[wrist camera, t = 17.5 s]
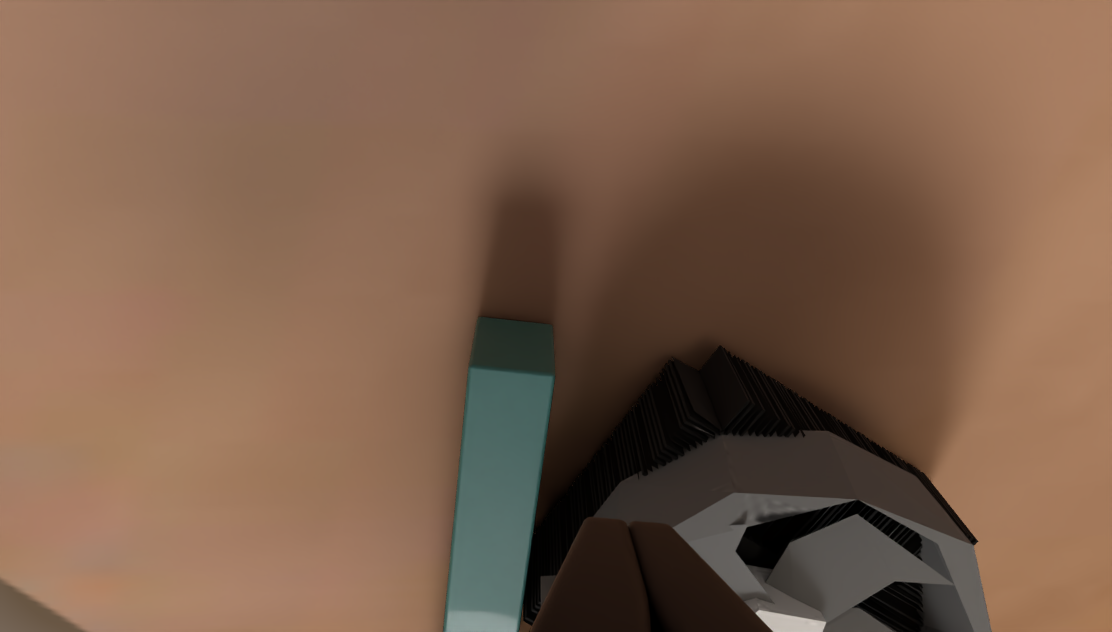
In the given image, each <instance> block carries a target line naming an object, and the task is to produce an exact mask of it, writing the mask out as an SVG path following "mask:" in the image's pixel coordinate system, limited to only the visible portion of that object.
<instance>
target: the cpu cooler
mask: <svg viewBox="0 0 1112 632" xmlns="http://www.w3.org/2000/svg"><path fill="white" fill-rule="evenodd" d="M672 359H673V361H672V360H670V359H669V360H668V363H669V365H668V364H667V363H666V364H665V368H666V371H665V370H664V369H662V370H663V373H664V375H663V374H661V373H660V372H659V373H660V376H661V380H662V381H661V380H659V379H658V378H656V377H655V378H656V381H657V384H658V386H657V385H655V384H653V383H652V386H653V387H652V386H651V385H649V386H648V389H649V390H648V389H646V390H645V394H646V395H645V394H644V393H643V394H642V395H641V396H642V398H639V399H638V401H639V404H638V403H636V405H637V407H635V406H634V405H633V407H632V410H633V411H631V410H629V415H628V414H626V416H625V417H626V419H624V418H623V419H622V423H621V422H620V423H619V427H616V428H615V429H616V431H613V432H612V433H613V436H612V435H611V440H612V441H611V440H610V439H608V444H609V445H608V444H606V443H604V444H603V447H602V446H601V447H602V452H600V451H598V452H597V455H596V454H595V455H594V461H595V462H593V461H591V463H590V462H589V463H588V468H586V467H585V470H586V471H584V470H583V475H584V476H583V475H581V474H580V475H579V478H576V482H573V486H570V487H569V489H570V491H569V490H568V495H567V494H565V499H564V498H562V502H561V501H559V502H558V505H555V509H554V508H553V509H552V513H551V512H550V513H549V516H547V517H546V521H545V520H544V525H542V524H541V528H540V527H538V528H537V531H536V534H535V535H534V534H533V538H532V545H531V552H530V559H529V566H528V573H527V580H526V587H525V594H524V601H523V621H525V622H526V623H528V624H530V625H531V626H532V625H533V623H534V621H535V619H536V617H537V615H538V613H539V611H540V609H541V607H542V605H543V603H544V601H545V599H546V597H547V595H548V593H549V591H550V588H551V586H552V584H553V582H554V580H555V578H556V576H557V574H558V572H559V570H560V568H561V566H562V564H563V562H564V560H565V558H566V556H567V554H568V552H569V550H570V548H571V546H572V544H573V542H574V540H575V538H576V536H577V534H578V532H579V530H580V527H581V525H582V523H583V522H584V520H585V519H586V518H588V517H600V518H610V519H620V520H623V521H624V522H626V524H627V525H628V524H629V523H630V522H632V521H642V522H653V523H664V524H668V525H670V526H671V527H672V528H673V529H674V530H675V531H676V532H677V533H678V534H679V535H680V536H681V537H682V538H683V539H684V540H685V541H686V542H687V543H688V544H689V545H690V546H691V547H692V548H693V549H694V550H695V551H696V552H697V553H698V554H699V555H700V556H701V558H702V559H703V560H704V561H705V562H706V563H707V564H708V565H709V566H710V567H711V568H712V569H713V570H714V571H715V572H716V573H717V574H718V575H719V576H720V577H721V578H722V579H723V580H724V581H725V582H726V583H727V584H728V585H729V586H730V588H731V589H732V590H733V591H734V592H735V593H736V594H737V595H738V596H739V597H740V598H741V599H742V600H743V601H744V602H745V603H746V604H747V605H748V606H749V607H750V608H751V609H752V610H753V611H754V612H755V613H756V614H757V615H758V616H759V617H760V619H761V620H762V621H763V622H764V623H765V624H766V625H767V626H768V627H769V628H770V629H771V630H772V631H773V632H992V631H991V626H990V622H989V617H988V612H987V607H986V602H985V598H984V593H983V588H982V583H981V579H980V574H979V569H978V564H977V559H976V555H975V550H974V545H975V544H976V543H977V542H978V541H977V539H976V538H975V537H974V536H973V534H972V533H971V532H970V530H969V529H968V528H967V527H966V525H965V524H964V523H963V522H962V520H961V519H960V518H959V517H958V515H957V514H956V513H955V512H954V510H953V509H952V508H951V507H950V505H949V504H948V503H947V502H946V500H945V499H944V498H943V496H942V495H941V494H940V493H939V491H938V490H937V489H936V488H935V486H934V485H933V484H932V483H931V481H930V480H929V479H928V478H927V476H926V475H925V474H924V473H923V472H921V471H920V470H917V469H916V468H915V467H913V466H912V465H909V464H906V463H905V462H904V460H903V461H902V460H901V459H900V458H899V457H897V456H896V455H893V453H891V452H890V453H889V452H888V450H887V451H886V450H885V448H883V447H882V448H881V447H880V446H879V445H876V443H875V442H873V441H871V442H870V441H869V439H868V438H866V437H865V436H864V435H861V434H860V433H859V432H857V433H856V431H855V430H854V429H852V428H851V427H850V426H849V427H848V425H847V424H843V423H842V421H841V423H840V421H839V420H837V419H836V418H835V417H834V416H833V417H832V416H831V414H829V413H828V414H827V413H826V412H825V411H824V412H823V410H822V409H821V410H819V409H818V407H817V406H815V407H814V405H813V404H812V403H810V401H809V402H807V400H806V399H805V398H802V396H801V397H799V396H798V394H797V393H794V392H793V391H792V390H791V389H790V390H789V389H788V388H787V389H786V388H785V386H784V385H783V384H781V385H780V383H779V382H778V381H777V382H776V380H775V379H772V378H771V377H770V376H768V377H766V375H765V373H764V374H763V373H762V371H760V370H758V369H757V368H756V367H755V369H754V368H753V366H750V365H749V363H748V362H746V363H745V361H744V360H743V359H741V361H740V359H739V357H736V356H735V355H734V356H733V357H732V355H731V354H730V352H728V353H727V352H726V350H725V348H724V349H723V347H722V346H719V347H718V348H717V349H716V351H715V352H714V353H713V354H712V356H711V357H710V358H709V360H708V361H707V362H706V363H705V365H704V366H703V367H702V369H701V370H700V371H697V370H696V369H694V368H692V367H690V366H688V365H686V364H684V363H683V362H681V361H679V360H677V359H675V358H673V357H672Z"/></svg>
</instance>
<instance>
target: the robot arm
mask: <svg viewBox="0 0 1112 632" xmlns="http://www.w3.org/2000/svg"><path fill="white" fill-rule="evenodd" d="M529 632H773V631H772V630H771V629H770V628H769V627H768V626H767V625H766V624H765V623H764V622H763V621H762V620H761V619H760V617H759V616H758V615H757V614H756V613H755V612H754V611H753V610H752V609H751V608H750V607H749V606H748V605H747V604H746V603H745V602H744V601H743V600H742V599H741V598H740V597H739V596H738V595H737V594H736V593H735V592H734V591H733V590H732V589H731V588H730V586H729V585H728V584H727V583H726V582H725V581H724V580H723V579H722V578H721V577H720V576H719V575H718V574H717V573H716V572H715V571H714V570H713V569H712V568H711V567H710V566H709V565H708V564H707V563H706V562H705V561H704V560H703V559H702V558H701V556H700V555H699V554H698V553H697V552H696V551H695V550H694V549H693V548H692V547H691V546H690V545H689V544H688V543H687V542H686V541H685V540H684V539H683V538H682V537H681V536H680V535H679V534H678V533H677V532H676V531H675V530H674V529H673V528H672V527H671V526H670V525H668V524H664V523H653V522H642V521H632V522H630V523H629V524H628V525H627V524H626V522H624V521H623V520H620V519H610V518H600V517H588V518H586V519H585V520H584V522H583V523H582V525H581V527H580V530H579V532H578V534H577V536H576V538H575V540H574V542H573V544H572V546H571V548H570V550H569V552H568V554H567V556H566V558H565V560H564V562H563V564H562V566H561V568H560V570H559V572H558V574H557V576H556V578H555V580H554V582H553V584H552V586H551V588H550V591H549V593H548V595H547V597H546V599H545V601H544V603H543V605H542V607H541V609H540V611H539V613H538V615H537V617H536V619H535V621H534V623H533V625H532V627H531V629H530V631H529Z"/></svg>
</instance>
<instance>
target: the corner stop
mask: <svg viewBox="0 0 1112 632" xmlns="http://www.w3.org/2000/svg"><path fill="white" fill-rule="evenodd" d="M554 383H555V357H554V336H553V326H552V325H550V324H542V323H533V322H524V321H515V320H505V319H496V318H487V317H478V319H477V322H476V327H475V333H474V339H473V344H472V350H471V355H470V361H469V367H468V377H467V387H466V397H465V408H464V418H463V428H462V439H461V449H460V460H459V470H458V480H457V491H456V501H455V512H454V522H453V532H452V543H451V553H450V563H449V574H448V584H447V595H446V605H445V615H444V626H443V632H519V629H520V622H521V615H522V608H523V601H524V594H525V587H526V580H527V573H528V566H529V559H530V552H531V545H532V538H533V531H534V524H535V517H536V509H537V502H538V495H539V488H540V481H541V474H542V467H543V460H544V453H545V446H546V439H547V432H548V425H549V418H550V411H551V404H552V397H553V390H554Z"/></svg>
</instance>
